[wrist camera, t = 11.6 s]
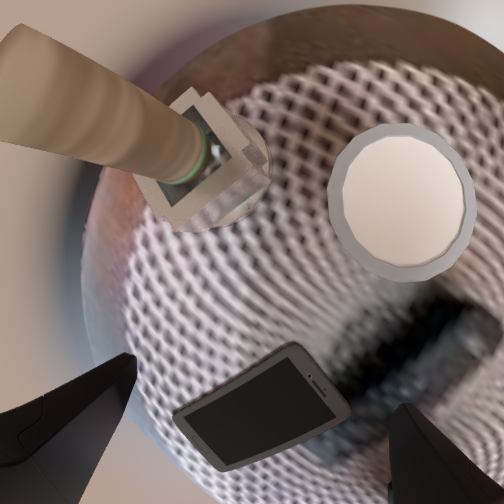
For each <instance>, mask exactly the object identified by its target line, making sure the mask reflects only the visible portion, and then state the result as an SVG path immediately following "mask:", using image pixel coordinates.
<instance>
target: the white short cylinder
mask: <svg viewBox="0 0 504 504" xmlns="http://www.w3.org/2000/svg"><path fill="white" fill-rule="evenodd" d="M327 194H328V206H329V219H330V222H331V224H332V226H333V228H334V230H335V232H336V234H337V236H338V239H339V241H340V243H341V245H342V247H343V249H344V250H345V251H346V252H347V253H348V254H349V255H350V256H351V257H352V258H353V259H354V260H355V261H356V262H358V263H359V264H360V265H361V266H362V267H363V268H364V269H365V270H366V271H367V272H369V273H372V274H375V275H377V276H380V277H383V278H385V279H388V280H391V281H393V282H396V283H397V282H413V281H426V280H428V279H430V278H432V277H434V276H435V275H437V274H439V273H441V272H443V271H445V270H446V269H448V268H450V267H452V265H453V264H454V263H455V262H456V260H457V259H458V258H459V256H460V255H461V254H462V252H463V251H464V250H465V248H466V247H467V246H468V244H469V243H470V239H471V235H472V232H473V228H474V224H475V220H476V216H477V208H476V198H475V190H474V183H473V180H472V178H471V176H470V174H469V172H468V170H467V168H466V166H465V164H464V162H463V160H462V159H461V157H460V155H459V154H458V153H457V152H456V151H455V150H454V149H453V148H452V147H451V146H450V145H449V144H448V143H446V142H445V141H444V140H443V139H442V138H441V137H440V136H439V135H438V134H436V133H433V132H431V131H428V130H426V129H423V128H421V127H418V126H416V125H413V124H410V123H396V124H380V125H378V126H376V127H373V128H371V129H369V130H367V131H365V132H363V133H361V134H359V135H357V136H355V137H354V138H353V139H352V140H351V142H350V143H349V144H348V145H347V146H346V148H345V149H344V150H343V151H342V152H341V153H340V155H339V156H338V157H337V158H336V161H335V164H334V167H333V170H332V174H331V177H330V180H329V183H328V186H327Z"/></svg>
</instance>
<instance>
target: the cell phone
mask: <svg viewBox="0 0 504 504" xmlns="http://www.w3.org/2000/svg"><path fill="white" fill-rule="evenodd" d="M350 414H351V407H350V405H349V404H348V402H347V401H346V400H345V398H344V397H343V396H342V395H341V393H340V392H339V391H338V390H337V388H336V387H335V386H334V385H333V383H332V382H331V381H330V380H329V378H328V377H327V376H326V375H325V373H324V372H323V371H322V370H321V368H320V367H319V366H318V364H317V363H316V362H315V361H314V359H313V358H312V357H311V356H310V354H309V353H308V352H307V351H306V350H305V349H304V348H303V347H302V346H301V345H299V344H296V343H292V344H290V345H288V346H286V347H285V348H283V349H281V350H279V351H278V352H276V353H275V354H273V355H271V356H270V357H268V358H267V359H265V360H264V361H262V362H261V363H259V364H258V365H256V366H254V367H253V368H251V369H250V370H248V371H247V372H245V373H243V374H242V375H240V376H238V377H237V378H235V379H234V380H232V381H230V382H229V383H227V384H225V385H224V386H222V387H220V388H219V389H217V390H215V391H213V392H212V393H210V394H208V395H207V396H205V397H203V398H201V399H200V400H198V401H196V402H194V403H192V404H191V405H189V406H187V407H185V408H183V409H182V410H180V411H178V412H177V413H176V414H174V415H173V416H172V419H173V421H174V423H175V424H176V426H177V427H178V428H179V429H180V431H181V432H182V433H183V434H184V435H185V436H186V438H187V439H188V440H189V441H190V442H191V443H192V444H193V446H194V447H195V448H196V449H197V450H198V451H199V452H200V453H201V454H202V455H203V456H204V458H205V459H206V460H207V461H208V462H209V463H210V464H211V465H212V466H213V467H214V468H215V469H217V470H218V471H220V472H227V471H231V470H234V469H237V468H240V467H243V466H246V465H248V464H251V463H254V462H257V461H259V460H262V459H264V458H267V457H269V456H272V455H274V454H277V453H279V452H282V451H284V450H286V449H288V448H291V447H293V446H295V445H297V444H300V443H302V442H304V441H306V440H308V439H310V438H312V437H314V436H316V435H319V434H321V433H323V432H325V431H326V430H328V429H330V428H332V427H334V426H336V425H338V424H339V423H341V422H343V421H344V420H346V419H347V418H349V416H350Z"/></svg>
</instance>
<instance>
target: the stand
mask: <svg viewBox="0 0 504 504" xmlns="http://www.w3.org/2000/svg"><path fill="white" fill-rule="evenodd" d="M168 107H170V108H171V109H173V110H174V111H176V112H177V113H179V114H180V115H182V116H183V117H185V118H186V119H188V120H190V121H192V122H194V123H195V124H197V125H198V126H199V127H201V128H202V130H203V131H205V133H206V134H207V135H208V137H209V139H210V142H211V157H210V161H209V163H208V166H207V168H206V169H205V171H204V172H203V173H202V174H201V176H199V177H198V178H197V179H196V180H194V181H193V182H191V183H189V184H185V185H171V184H167V183H163V182H160V181H158V180H156V179H152V178H149V177H145V176H141V175H138V174H134V173H132V174H133V176H134V178H135V180H136V182H137V184H138V186H139V188H140V190H141V192H142V193H143V195H144V197H145V199H146V201H147V203H148V205H149V206H150V208H151V210H152V212H153V214H154V216H155V217H156V219H157V221H167V222H169V223H170V225H171V227H172V228H173V230H174V232H199V233H205V232H206V231H207V230H209V229H210V228H211V227H225V226H229V225H232V224H235V223H237V222H239V221H242V220H243V219H245V218H246V217H248V216H249V215H250V214H251V213H252V212H254V211H255V210H256V208H257V207H258V206H259V205H260V204H261V202H262V201H263V199H264V197H265V196H266V194H267V192H268V189H269V186H270V183H271V181H272V180H271V179H272V171H273V165H272V157H271V153H270V150H269V147H268V145H267V143H266V141H265V140H264V138H263V137H262V136H261V135H260V133H259V132H258V131H257V130H256V129H255V128H254V127H253V126H252V125H251V124H250V123H248V122H247V121H245V120H244V119H242V118H240V117H237V116H234V115H233V114H232V113H231V112H230V111H229V110H228V109H227V108H226V107H225V106H224V105H223V104H222V103H221V102H219V101H218V100H217V99H216V98H215V97H214V96H213V95H212V94H211V93H210V92H208V93H206V94H205V95H204V96H202V95H201V94H200V93H199V92H198V91H197V90H195V89H194V88H193V87H190V88H189V89H188V90H187V91H186V92H184V93H183V94H182V95H181V96H180V97H179V98H177V99H176V100H175V101H174V102H173V103H172V104H171V105H170V106H168Z"/></svg>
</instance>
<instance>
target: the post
mask: <svg viewBox="0 0 504 504" xmlns="http://www.w3.org/2000/svg"><path fill="white" fill-rule="evenodd" d="M0 141H2V142H7V143H12V144H16V145H21V146H25V147H30V148H35V149H39V150H43V151H47V152H52V153H56V154H60V155H64V156H68V157H72V158H76V159H81V160H85V161H89V162H93V163H96V164H100V165H104V166H108V167H112V168H116V169H119V170H123V171H127V172H130V173H134V174H138V175H141V176H145V177H149V178H152V179H156V180H158V181H160V182H163V183H167V184H171V185H185V184H189V183H191V182H193V181H194V180H196V179H197V178H198V177H199V176H201V174H202V173H203V172H204V171H205V169H206V168H207V166H208V163H209V161H210V157H211V142H210V139H209V137H208V135H207V134H206V133H205V131H203V130H202V128H201V127H199V126H198V125H197V124H195V123H194V122H192V121H190V120H188V119H186V118H185V117H183V116H182V115H180V114H179V113H177V112H176V111H174V110H173V109H171V108H170V107H168V106H167V105H165V104H164V103H162V102H161V101H159V100H157V99H156V98H154V97H153V96H151V95H150V94H148V93H146V92H145V91H143V90H142V89H140V88H138V87H137V86H135V85H134V84H132V83H130V82H129V81H127V80H125V79H124V78H122V77H120V76H119V75H117V74H116V73H114V72H112V71H110V70H109V69H107V68H105V67H103V66H102V65H100V64H98V63H97V62H95V61H93V60H91V59H90V58H88V57H86V56H84V55H83V54H81V53H79V52H77V51H75V50H73V49H72V48H70V47H68V46H66V45H64V44H62V43H60V42H58V41H56V40H54V39H52V38H51V37H49V36H47V35H45V34H43V33H41V32H39V31H37V30H35V29H32V28H30V27H28V26H26V25H24V24H19V25H17V26H16V27H14V28H13V29H12V30H11V31H10V32H9V33H8V34H7V35H6V36H5V38H4V39H3V40H2V41H1V43H0Z"/></svg>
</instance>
